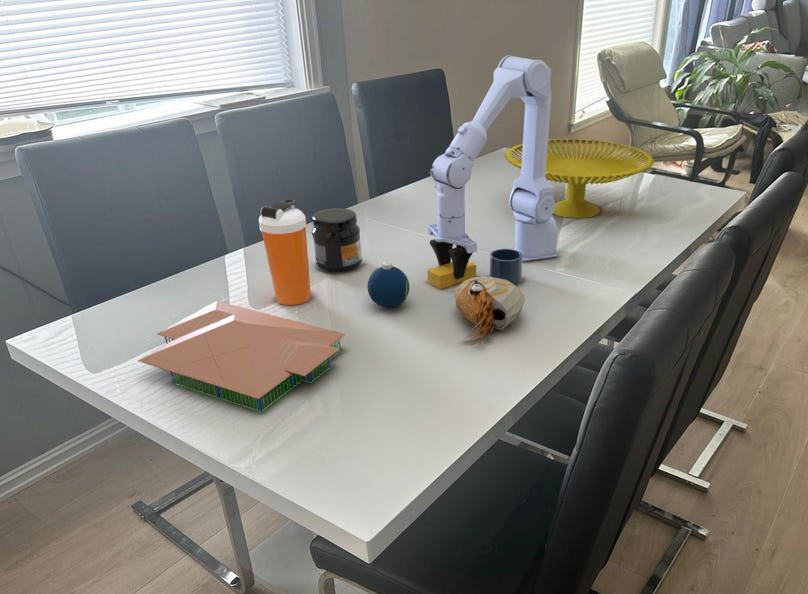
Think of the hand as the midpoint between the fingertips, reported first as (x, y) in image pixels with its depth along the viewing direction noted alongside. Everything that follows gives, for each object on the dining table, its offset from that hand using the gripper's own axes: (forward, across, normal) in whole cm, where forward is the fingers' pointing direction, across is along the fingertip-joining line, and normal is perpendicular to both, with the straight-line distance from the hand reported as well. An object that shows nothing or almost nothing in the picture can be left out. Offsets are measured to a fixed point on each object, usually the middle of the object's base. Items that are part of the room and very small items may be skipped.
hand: (452, 273), depth 151 cm
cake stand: (+2, -16, +56) cm, 58 cm away
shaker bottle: (+2, -14, -31) cm, 34 cm away
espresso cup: (+1, +8, +9) cm, 12 cm away
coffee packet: (+1, 0, 0) cm, 1 cm away
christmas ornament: (+2, +2, -18) cm, 18 cm away
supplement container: (+2, -22, -15) cm, 27 cm away
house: (+2, +5, -50) cm, 50 cm away
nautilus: (+2, +20, -8) cm, 22 cm away
